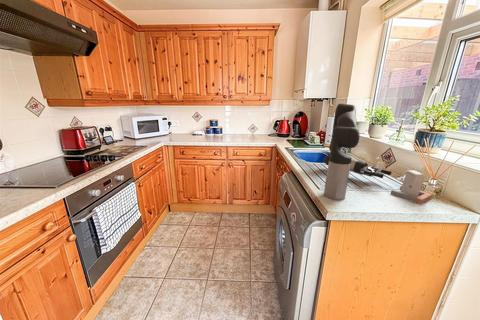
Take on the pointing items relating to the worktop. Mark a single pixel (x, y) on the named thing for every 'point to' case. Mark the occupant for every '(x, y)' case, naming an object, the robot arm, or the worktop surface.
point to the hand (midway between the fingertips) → (387, 174)
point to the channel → (422, 196)
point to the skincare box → (412, 182)
